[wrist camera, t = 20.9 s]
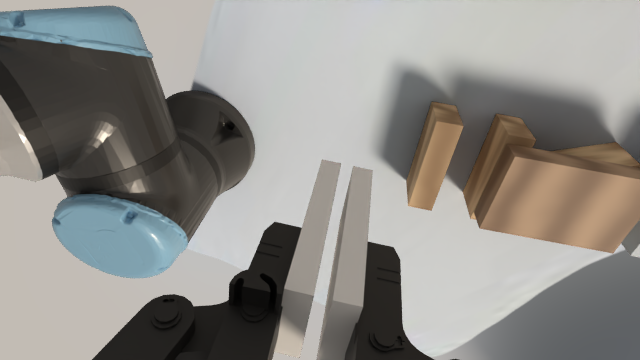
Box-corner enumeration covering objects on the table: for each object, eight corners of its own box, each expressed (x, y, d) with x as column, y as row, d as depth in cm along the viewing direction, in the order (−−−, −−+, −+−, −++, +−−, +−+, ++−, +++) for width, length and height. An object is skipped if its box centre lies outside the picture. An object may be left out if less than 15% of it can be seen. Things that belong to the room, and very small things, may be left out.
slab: (473, 212, 49) (479, 228, 46) (506, 143, 43) (515, 156, 41) (600, 236, 48) (613, 253, 46) (649, 169, 43) (666, 184, 40)
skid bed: (406, 180, 55) (408, 205, 50) (431, 101, 48) (436, 121, 43) (484, 196, 54) (494, 223, 49) (520, 118, 48) (536, 140, 43)
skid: (509, 187, 53) (522, 213, 48) (509, 156, 51) (522, 179, 46) (610, 175, 50) (634, 201, 45) (615, 141, 48) (641, 164, 43)
